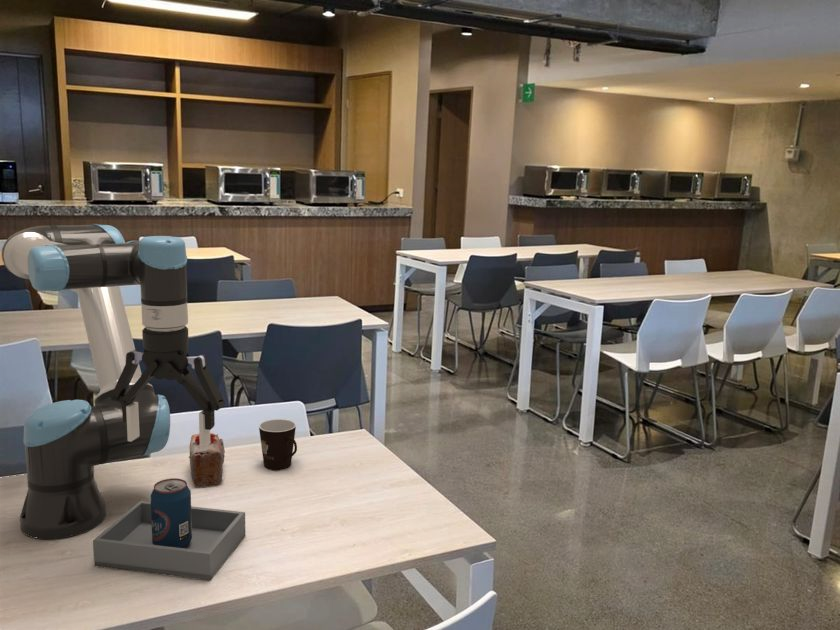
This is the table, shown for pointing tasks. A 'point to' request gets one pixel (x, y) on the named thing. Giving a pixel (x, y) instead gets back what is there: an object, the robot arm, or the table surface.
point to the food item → (206, 461)
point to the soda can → (171, 513)
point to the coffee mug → (277, 443)
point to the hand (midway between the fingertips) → (169, 442)
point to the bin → (199, 560)
